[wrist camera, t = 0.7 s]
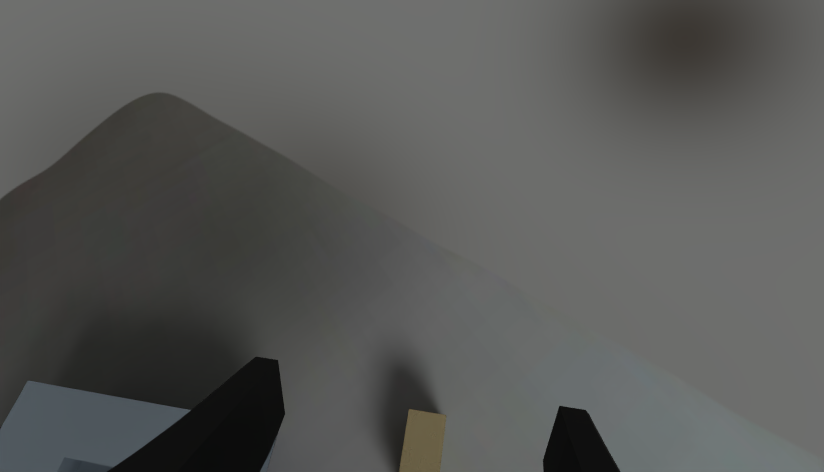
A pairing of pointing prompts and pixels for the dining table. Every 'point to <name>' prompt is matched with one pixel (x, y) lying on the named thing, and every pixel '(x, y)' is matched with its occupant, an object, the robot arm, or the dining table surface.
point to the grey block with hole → (79, 430)
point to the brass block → (423, 442)
